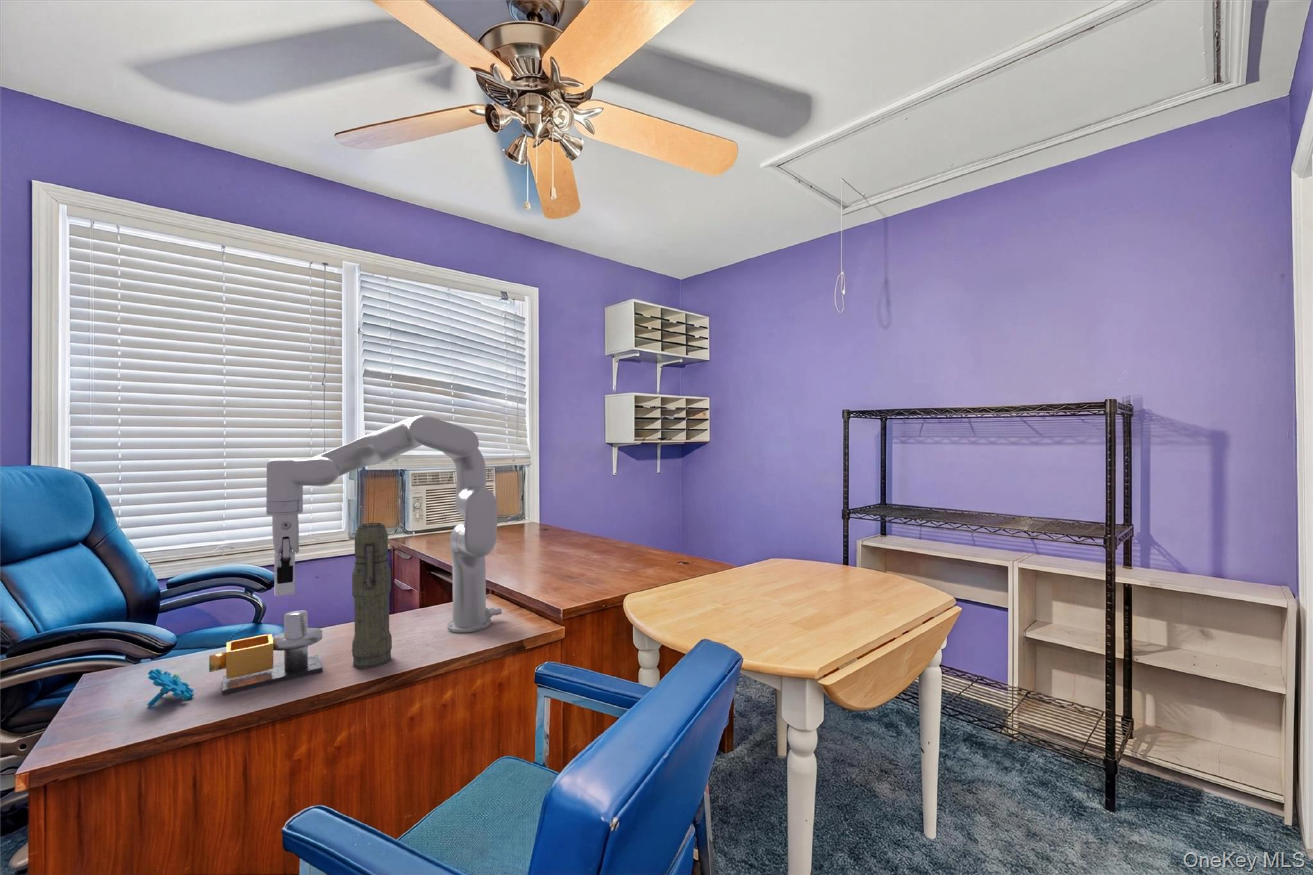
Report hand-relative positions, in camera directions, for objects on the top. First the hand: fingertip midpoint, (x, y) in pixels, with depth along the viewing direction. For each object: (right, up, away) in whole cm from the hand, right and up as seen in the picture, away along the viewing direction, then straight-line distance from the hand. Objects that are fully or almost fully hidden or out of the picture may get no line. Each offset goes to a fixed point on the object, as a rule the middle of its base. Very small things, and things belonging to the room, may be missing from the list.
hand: (284, 580), depth 132 cm
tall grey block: (0, -3, 0) cm, 3 cm away
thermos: (+20, -22, +3) cm, 30 cm away
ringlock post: (0, -22, -6) cm, 22 cm away
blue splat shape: (-13, -22, -17) cm, 31 cm away
